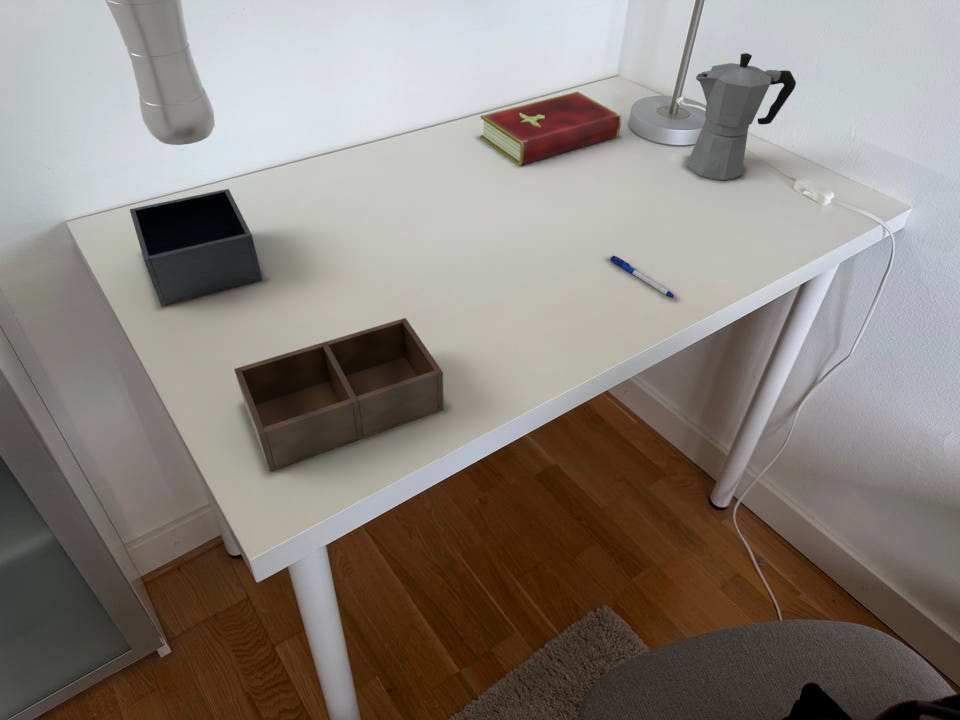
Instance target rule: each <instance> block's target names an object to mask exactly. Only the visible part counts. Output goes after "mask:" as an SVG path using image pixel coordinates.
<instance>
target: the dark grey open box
mask: <svg viewBox="0 0 960 720" xmlns="http://www.w3.org/2000/svg"><path fill="white" fill-rule="evenodd" d="M129 213H130V217H131V221H132V223H133V226H134V231H135V235H136V237H137V241H138V244H139V248H140V251H141V255H142V258H143V262H144V264H145V267H146V269H147V271H148V274H149V277H150V280H151V283H152V286H153V288H154V292H155V294H156V296H157V299H158V302H159V304H160V307H165V306H169V305H173V304H177V303H181V302H184V301H189V300H193V299H197V298H200V297H204V296H208V295H212V294H215V293H216V294H217V293H220V292H223V291H224V292H225V291H227V290H232V289H235V288H240V287H243V286H246V285H251V284H254V283H258V282H262V281H263V276H262V272H261V267H260V263H259V260H258V255H257V250H256V246H255V242H254V238H253V234H252V232H251V230H250V228H249V226H248V224H247V222H246V220H245V218H244V216H243V214H242V212H241V210H240V208H239V206H238V205H237V202H236V200H235V199H234V196H233V195H232V193H231V190H230V188H226V189H221V190H216V191H211V192H206V193H201V194H197V195H192V196H187V197H182V198H176V199H173V200H172V199H171V200H168V201H167V200H166V201H163V202H158V203H154V204H147V205H143V206H139V207H134V208H129Z"/></svg>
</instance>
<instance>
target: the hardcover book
mask: <svg viewBox="0 0 960 720" xmlns="http://www.w3.org/2000/svg"><path fill="white" fill-rule="evenodd" d="M480 119H481V120H483V129H482V130H483V133H482V135H480V136H479V139H480V140H482V141H483V142H485V143H486V144H488V145H489V146H490V147H492V148H493V149H494V150H496V151H497V152H499V153H501V154H502V155H503V156H505V157H506V158H507V159H509V160H510V161H511V162H512V163H514V164H516V165H517V166H518V167H519V166H522V165H526V164H530V163H533V162H536V161H539V160H544V159H546V158H547V159H548V158H551V157H553V156H557V155H560V154H564V153H567V152H570V151H574V150H577V149H581V148H585V147H588V146H590V145H594V144H595V145H596V144H597V143H602V142H605V141H608V140H612V139H614V138H617V137H619V134H620V131H621V125H622V115H621V114H620V113H617V112H616V111H615V110H613V109H610V108H609V107H606V105H603V104H601V103H599V102H598V101H596V100H594V99H593V98H591V97H589V96H587V95H585V94H583V93H582V92H580V91H574V92H571V93H567V94H562V95H558V96H554V97H550V98H546V99H542V100H538V101H535V102H530V103H526V104H522V105H519V106H515V107H511V108H507V109H502V110H498V111H494V112H491V113H486V114H482V115H480Z"/></svg>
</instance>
